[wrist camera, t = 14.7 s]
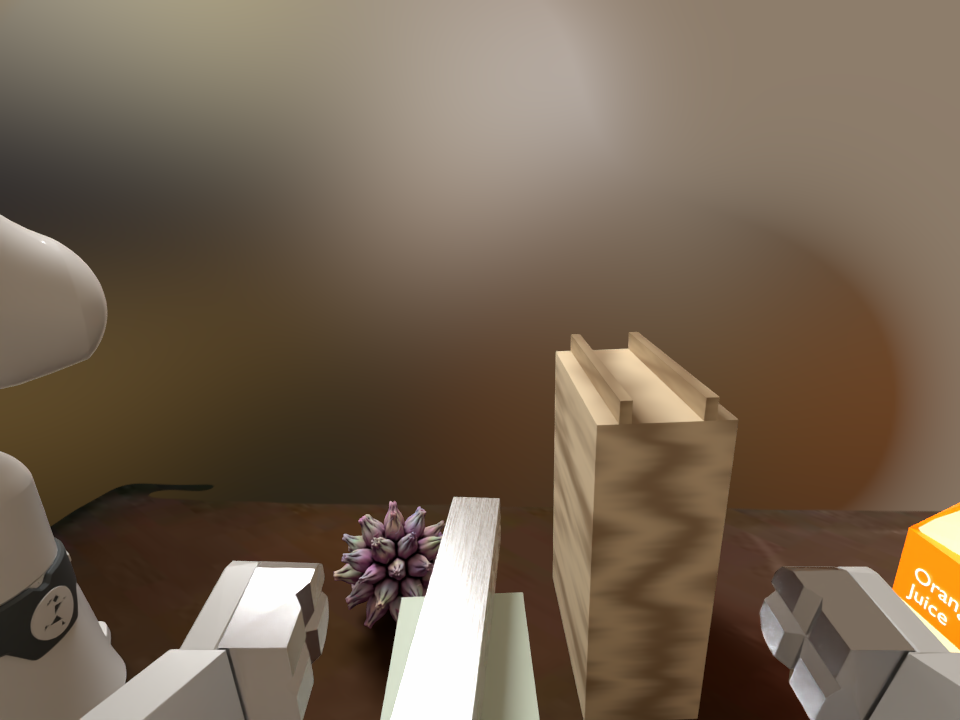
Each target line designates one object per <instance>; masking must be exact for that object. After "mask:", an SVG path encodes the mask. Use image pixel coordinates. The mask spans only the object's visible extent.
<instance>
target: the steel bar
mask: <svg viewBox="0 0 960 720" xmlns="http://www.w3.org/2000/svg"><path fill="white" fill-rule="evenodd" d="M500 540H501V530H500V499H498V498H468V497H454V498H453V501H452V504H451V508H450V511H449V515H448V518H447V522H446V526H445V529H444V533H443V536H442V540H441V543H440V547H439V551H438V554H437V558H436V561H435V565H434V568H433V572H432V576H431V579H430V583H429V586H428V590H427V593H426V597H425V600H424V604H423V608H422V611H421V615H420V618H419V622H418V625H417V629H416V633H415V636H414V640H413V643H412V647H411V650H410V654H409V657H408V661H407V665H406V668H405V672H404V675H403V679H402V682H401V686H400V690H399V693H398V697H397V700H396V704H395V707H394V711H393V715H392V718H391V720H481V714H482V705H483V696H484V687H485V678H486V668H487V659H488V650H489V641H490V632H491V622H492V613H493V604H494V595H495V586H496V577H497V567H498V558H499V549H500Z"/></svg>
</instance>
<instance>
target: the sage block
mask: <svg viewBox="0 0 960 720" xmlns="http://www.w3.org/2000/svg"><path fill="white" fill-rule="evenodd" d="M425 597H426V596H424V597H402V599H401V604H400V610H399V616H398V622H397V628H396V633H395V639H394V645H393V651H392V657H391V662H390V668H389V674H388V680H387V685H386V691H385V697H384V703H383V709H382V714H381V720H391V718H392V715H393V711H394V707H395V704H396V700H397V697H398V693H399V690H400V686H401V682H402V679H403V675H404V672H405V668H406V665H407V661H408V657H409V654H410V650H411V647H412V643H413V640H414V636H415V633H416V629H417V625H418V622H419V618H420V615H421V611H422V608H423V604H424V600H425ZM481 720H539V713H538V706H537V698H536V690H535V683H534V675H533V668H532V660H531V653H530V645H529V637H528V630H527V622H526V615H525V607H524V600H523V592H522V593H497V594H495V595H494V604H493V613H492V622H491V632H490V641H489V650H488V659H487V668H486V678H485V687H484V696H483V705H482V714H481Z"/></svg>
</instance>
